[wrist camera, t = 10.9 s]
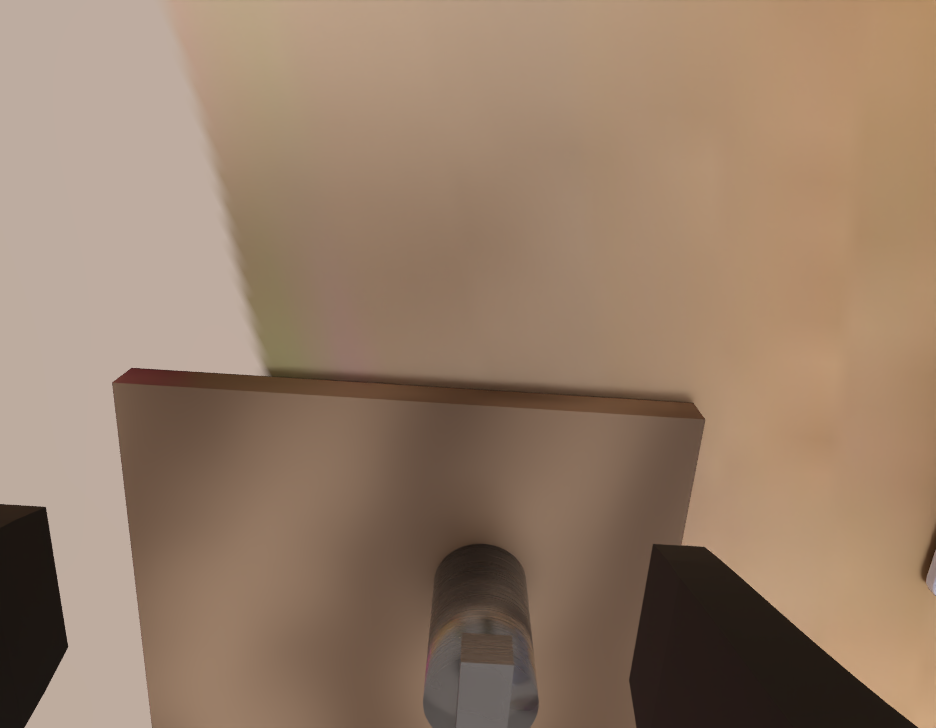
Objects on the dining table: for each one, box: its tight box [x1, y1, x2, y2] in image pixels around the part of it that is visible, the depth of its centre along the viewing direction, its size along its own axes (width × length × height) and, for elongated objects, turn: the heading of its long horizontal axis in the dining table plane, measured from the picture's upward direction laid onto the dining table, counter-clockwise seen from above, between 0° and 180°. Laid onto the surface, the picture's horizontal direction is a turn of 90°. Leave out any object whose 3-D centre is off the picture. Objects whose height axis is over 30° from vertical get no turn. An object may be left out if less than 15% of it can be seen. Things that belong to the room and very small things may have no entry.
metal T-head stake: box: [423, 544, 539, 728], centre depth 16 cm, size 2×4×5 cm, turn 177°
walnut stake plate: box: [112, 368, 705, 728], centre depth 19 cm, size 14×12×1 cm
